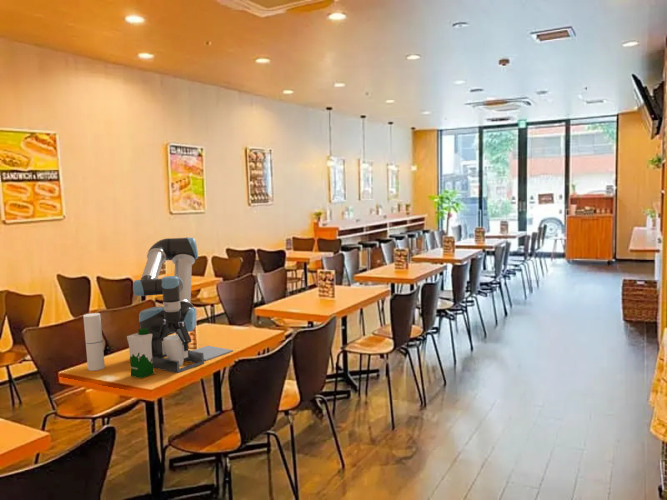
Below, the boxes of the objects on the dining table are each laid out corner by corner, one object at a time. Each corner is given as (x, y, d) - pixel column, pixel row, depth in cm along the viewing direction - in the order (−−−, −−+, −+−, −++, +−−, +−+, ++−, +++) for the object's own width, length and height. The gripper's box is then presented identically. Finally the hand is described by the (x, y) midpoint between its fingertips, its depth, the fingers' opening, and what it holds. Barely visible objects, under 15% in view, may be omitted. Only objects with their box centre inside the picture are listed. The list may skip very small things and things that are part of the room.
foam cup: (164, 363, 265) (162, 336, 264) (184, 360, 269) (182, 333, 268) (167, 369, 257) (165, 341, 255) (188, 366, 260) (186, 338, 259)
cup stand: (147, 366, 262) (147, 355, 262) (174, 357, 275) (173, 347, 274) (177, 373, 251) (176, 361, 250) (204, 363, 263) (203, 352, 263)
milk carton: (157, 373, 251) (154, 329, 249) (140, 379, 244) (136, 333, 242) (144, 370, 256) (141, 327, 254) (127, 376, 248) (123, 331, 246)
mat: (180, 355, 277) (180, 354, 277) (207, 346, 292) (207, 345, 292) (206, 360, 267) (205, 359, 267) (233, 351, 282) (233, 350, 282)
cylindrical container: (94, 371, 258) (90, 317, 255) (84, 369, 261) (79, 315, 259) (108, 366, 264) (103, 313, 261) (97, 365, 267) (93, 312, 265)
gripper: (147, 309, 264) (151, 354, 266) (184, 314, 250) (187, 361, 252) (161, 306, 270) (164, 350, 272) (197, 311, 256) (200, 357, 258)
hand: (175, 355), depth 262 cm, fingers open, 13 cm apart
